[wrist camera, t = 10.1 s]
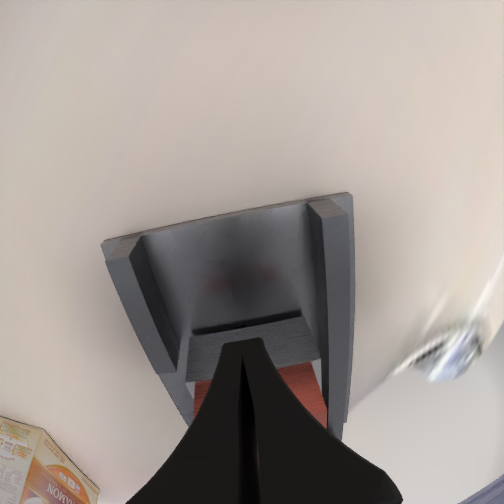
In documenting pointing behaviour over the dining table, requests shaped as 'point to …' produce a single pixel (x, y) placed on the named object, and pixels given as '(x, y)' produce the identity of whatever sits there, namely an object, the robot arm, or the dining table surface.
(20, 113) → the dining table surface
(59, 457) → the coffeecake box
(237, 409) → the robot arm
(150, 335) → the grey tray
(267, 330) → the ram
